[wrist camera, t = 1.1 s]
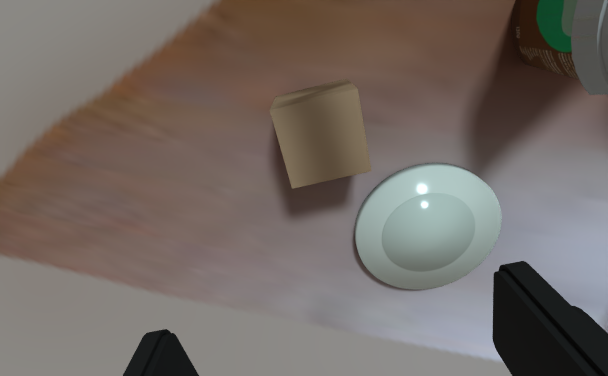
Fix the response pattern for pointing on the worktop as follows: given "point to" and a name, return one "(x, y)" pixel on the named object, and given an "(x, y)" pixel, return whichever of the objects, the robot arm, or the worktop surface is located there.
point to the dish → (427, 226)
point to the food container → (564, 38)
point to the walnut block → (321, 133)
